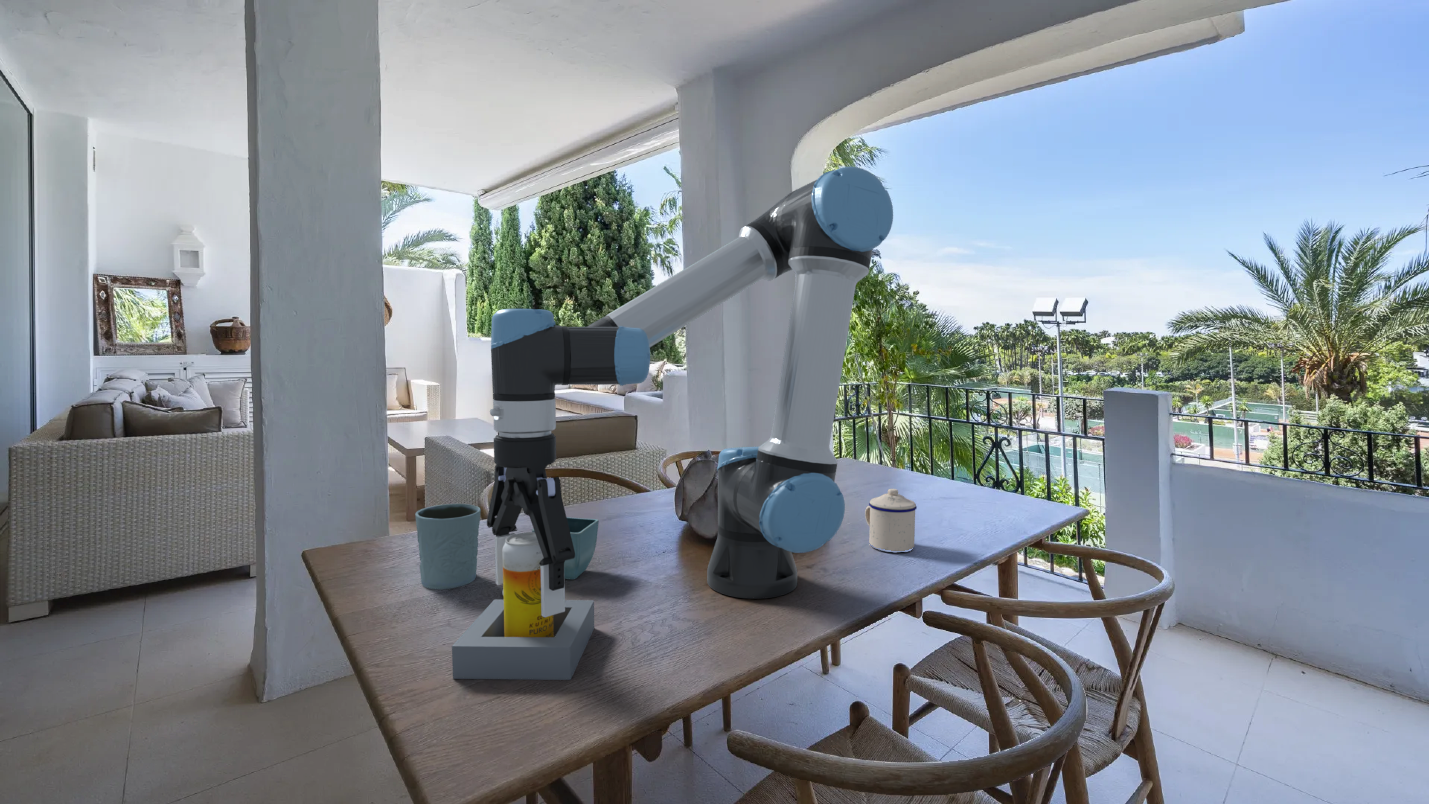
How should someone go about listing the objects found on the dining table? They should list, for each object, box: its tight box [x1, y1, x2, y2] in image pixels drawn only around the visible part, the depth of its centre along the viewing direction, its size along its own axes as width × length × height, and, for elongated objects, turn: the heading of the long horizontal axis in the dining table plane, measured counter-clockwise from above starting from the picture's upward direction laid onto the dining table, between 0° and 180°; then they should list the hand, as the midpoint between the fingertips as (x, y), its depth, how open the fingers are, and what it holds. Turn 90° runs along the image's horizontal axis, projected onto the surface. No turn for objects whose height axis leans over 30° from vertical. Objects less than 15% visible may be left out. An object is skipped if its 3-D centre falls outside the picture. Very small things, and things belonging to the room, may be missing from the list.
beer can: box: [502, 531, 555, 637], centre depth 81 cm, size 6×6×15 cm
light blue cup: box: [414, 503, 482, 590], centre depth 106 cm, size 10×10×12 cm
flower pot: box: [531, 516, 600, 580], centre depth 109 cm, size 9×9×9 cm
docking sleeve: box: [451, 598, 595, 681], centre depth 82 cm, size 14×14×4 cm
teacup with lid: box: [864, 488, 918, 551], centre depth 127 cm, size 12×9×12 cm
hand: (528, 597), depth 81 cm, fingers open, 13 cm apart
